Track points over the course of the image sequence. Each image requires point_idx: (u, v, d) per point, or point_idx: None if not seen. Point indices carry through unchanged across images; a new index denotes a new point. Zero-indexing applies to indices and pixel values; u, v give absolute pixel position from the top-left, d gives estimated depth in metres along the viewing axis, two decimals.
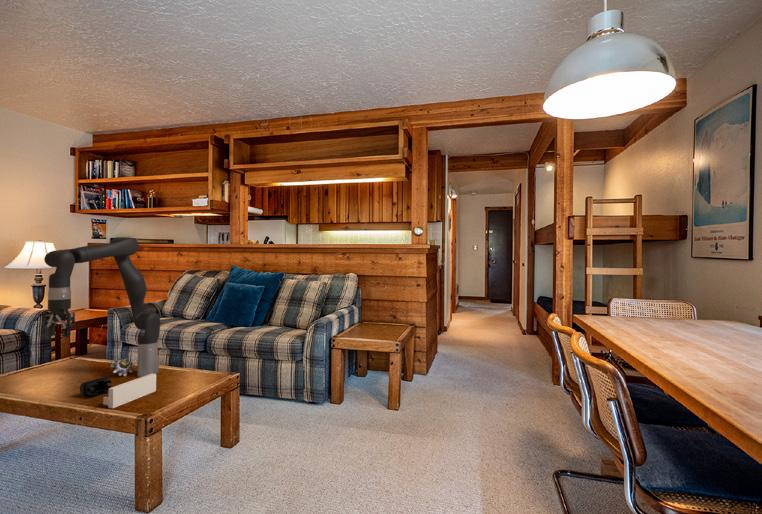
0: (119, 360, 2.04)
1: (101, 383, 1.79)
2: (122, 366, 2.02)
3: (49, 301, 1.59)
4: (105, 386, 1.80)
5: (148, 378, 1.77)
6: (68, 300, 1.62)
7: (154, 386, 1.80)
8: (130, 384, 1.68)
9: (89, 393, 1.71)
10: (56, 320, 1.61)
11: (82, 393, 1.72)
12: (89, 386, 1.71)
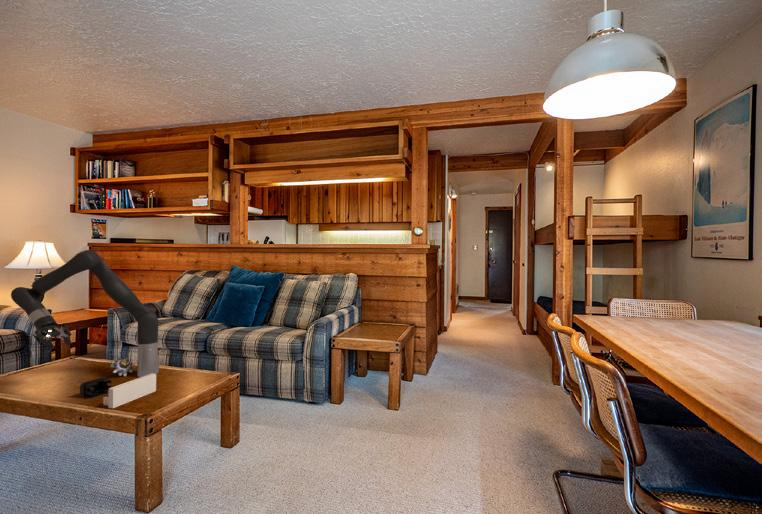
0: (119, 360, 2.04)
1: (101, 383, 1.79)
2: (122, 366, 2.02)
3: None
4: (105, 386, 1.80)
5: (148, 378, 1.77)
6: (36, 321, 1.80)
7: (154, 386, 1.80)
8: (130, 384, 1.68)
9: (89, 393, 1.71)
10: None
11: (82, 393, 1.72)
12: (89, 386, 1.71)
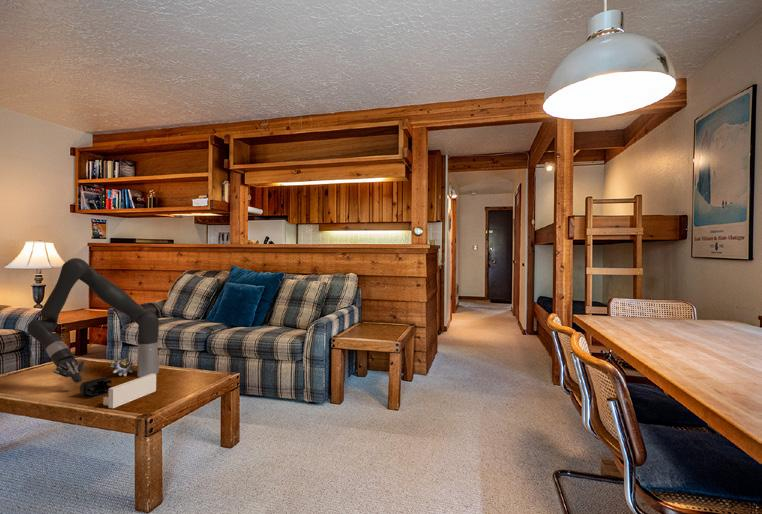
0: (119, 360, 2.04)
1: (101, 383, 1.79)
2: (122, 366, 2.02)
3: None
4: (105, 386, 1.80)
5: (148, 378, 1.77)
6: (53, 355, 1.78)
7: (154, 386, 1.80)
8: (130, 384, 1.68)
9: (89, 393, 1.71)
10: None
11: (82, 393, 1.72)
12: (89, 386, 1.71)
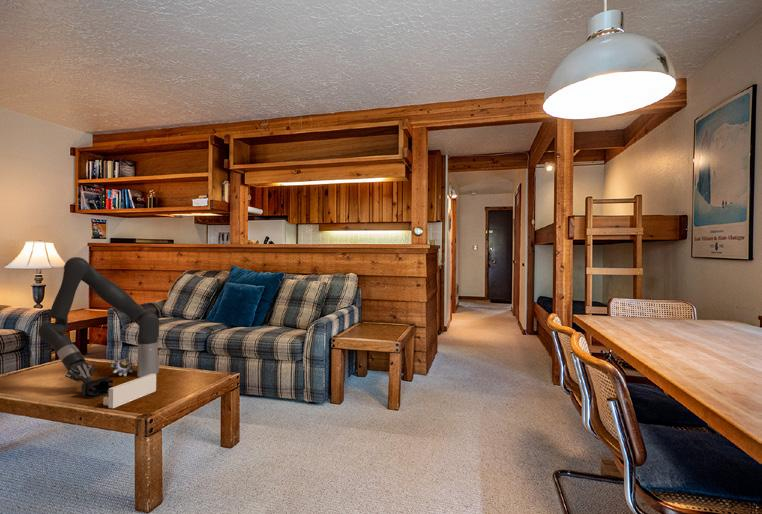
0: (119, 360, 2.04)
1: (102, 383, 1.78)
2: (122, 366, 2.02)
3: None
4: (106, 386, 1.80)
5: (148, 378, 1.77)
6: (65, 358, 1.76)
7: (154, 386, 1.80)
8: (130, 384, 1.68)
9: (91, 393, 1.71)
10: None
11: (84, 393, 1.72)
12: (91, 386, 1.71)
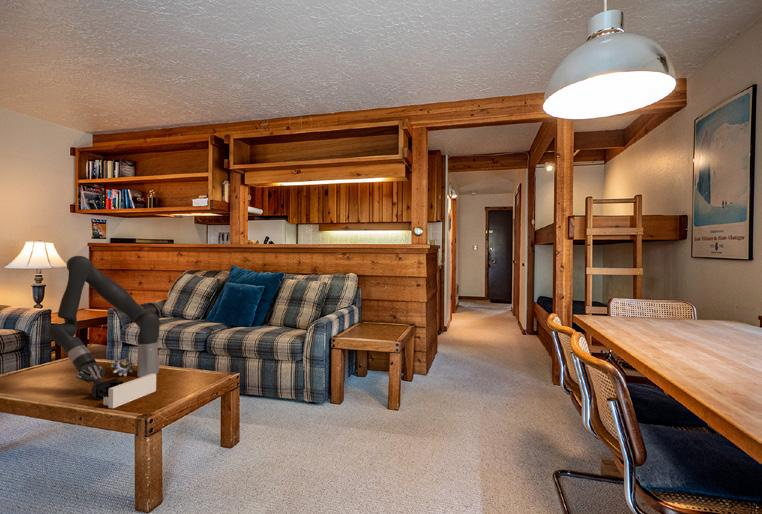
0: (119, 360, 2.04)
1: (112, 384, 1.77)
2: (122, 366, 2.02)
3: None
4: None
5: (148, 378, 1.77)
6: (76, 359, 1.75)
7: (154, 386, 1.80)
8: (130, 384, 1.68)
9: (102, 395, 1.69)
10: None
11: (94, 395, 1.70)
12: (102, 388, 1.69)
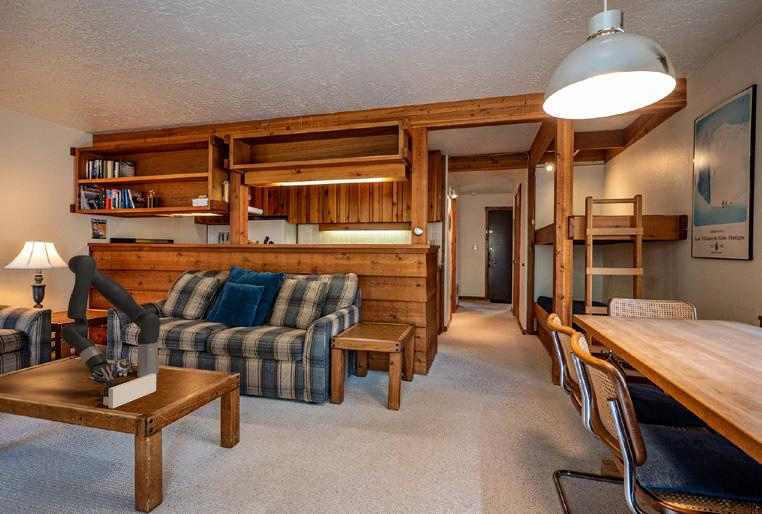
0: (119, 360, 2.04)
1: None
2: (122, 366, 2.02)
3: None
4: None
5: (148, 378, 1.77)
6: (88, 360, 1.73)
7: (154, 386, 1.80)
8: (130, 384, 1.68)
9: None
10: None
11: None
12: None
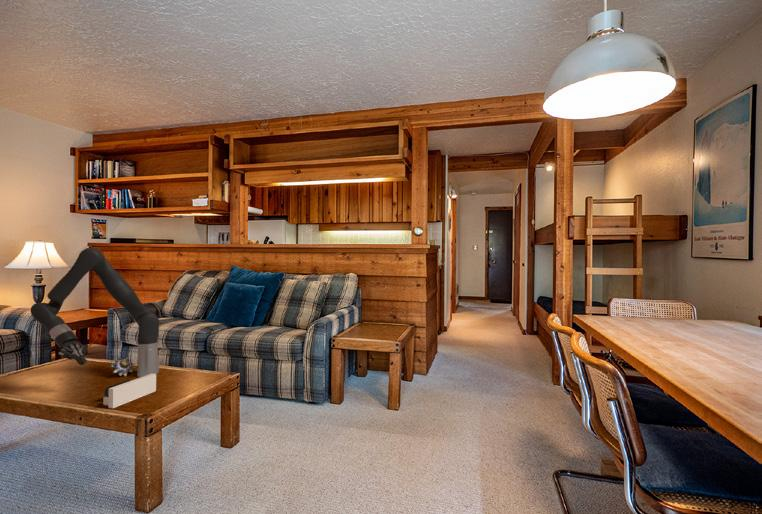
0: (119, 360, 2.04)
1: None
2: (122, 366, 2.02)
3: None
4: None
5: (148, 378, 1.77)
6: (57, 337, 1.77)
7: (154, 386, 1.80)
8: (130, 384, 1.68)
9: None
10: None
11: None
12: None
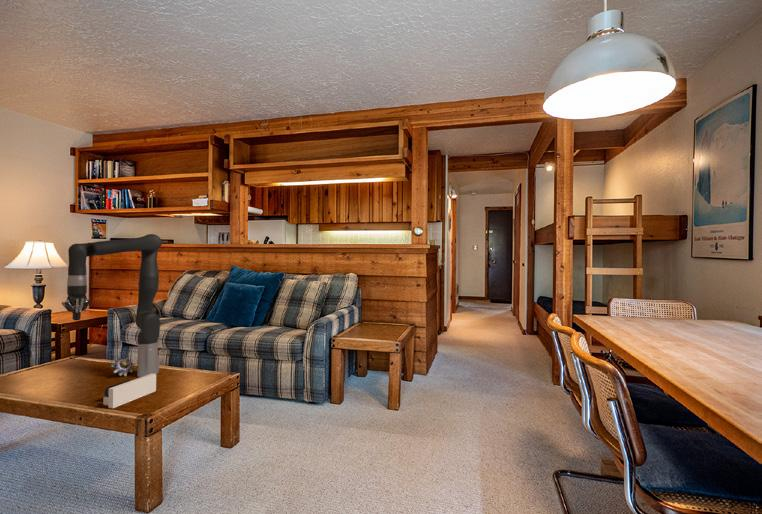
0: (119, 360, 2.04)
1: None
2: (122, 366, 2.02)
3: None
4: None
5: (148, 378, 1.77)
6: (71, 287, 1.83)
7: (154, 386, 1.80)
8: (130, 384, 1.68)
9: None
10: None
11: None
12: None
